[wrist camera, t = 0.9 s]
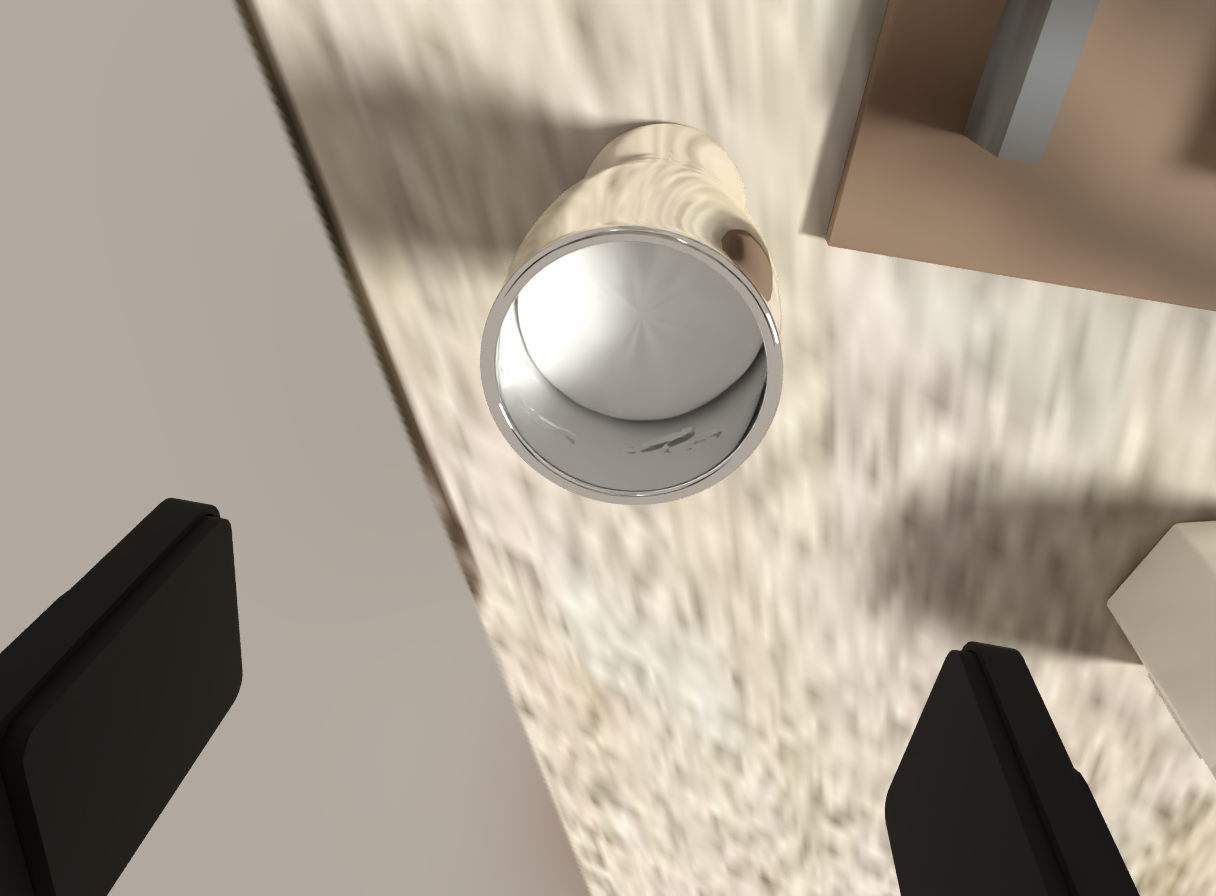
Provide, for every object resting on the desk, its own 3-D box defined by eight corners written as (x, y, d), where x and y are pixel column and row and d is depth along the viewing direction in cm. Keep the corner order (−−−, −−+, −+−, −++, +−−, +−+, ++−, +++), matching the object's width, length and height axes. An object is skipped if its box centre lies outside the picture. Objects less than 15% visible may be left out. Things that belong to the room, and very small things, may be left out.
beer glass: (796, 232, 32) (856, 415, 19) (641, 335, 34) (599, 561, 21) (685, 64, 30) (666, 140, 16) (528, 188, 32) (404, 341, 19)
